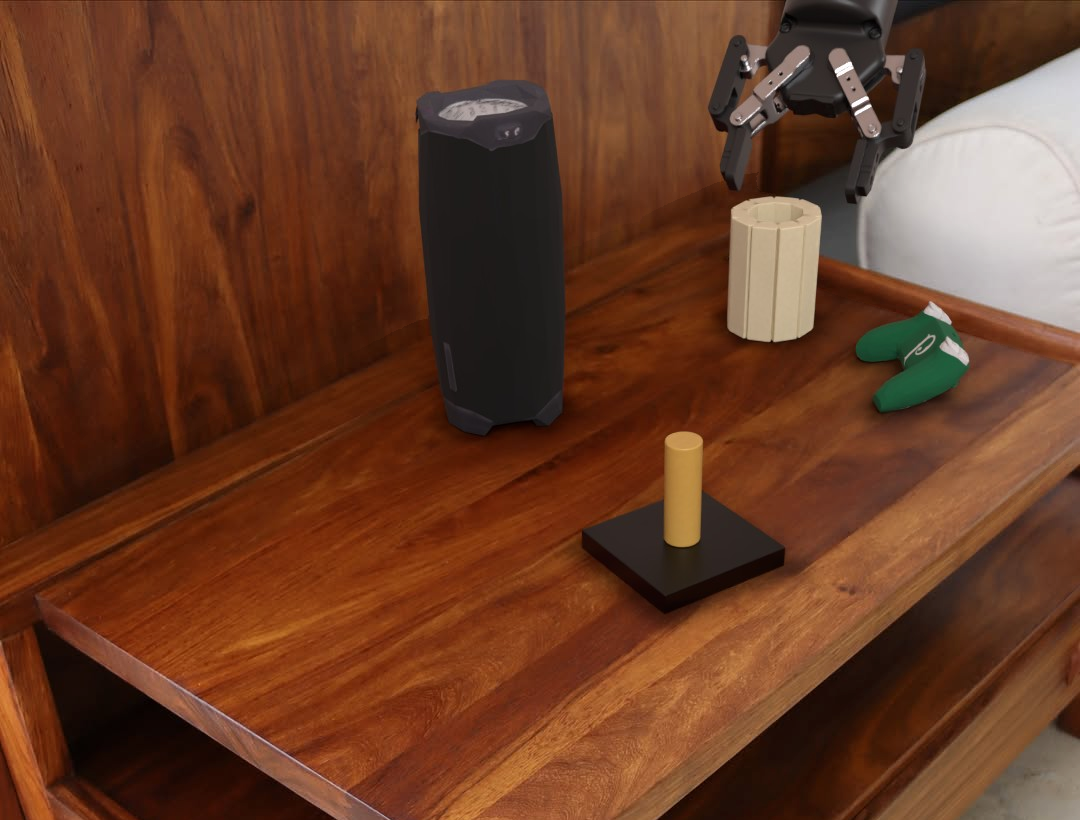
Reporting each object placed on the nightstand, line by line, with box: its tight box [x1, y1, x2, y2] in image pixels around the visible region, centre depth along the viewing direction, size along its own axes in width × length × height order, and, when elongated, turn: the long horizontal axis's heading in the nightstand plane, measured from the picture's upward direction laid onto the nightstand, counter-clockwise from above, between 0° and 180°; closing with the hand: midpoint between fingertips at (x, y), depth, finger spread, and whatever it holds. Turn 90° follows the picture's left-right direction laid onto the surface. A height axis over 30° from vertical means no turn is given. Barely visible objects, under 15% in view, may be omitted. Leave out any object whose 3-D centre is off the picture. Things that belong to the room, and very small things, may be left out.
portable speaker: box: [414, 79, 566, 437], centre depth 89 cm, size 9×9×20 cm
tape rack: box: [581, 431, 786, 615], centre depth 78 cm, size 8×8×7 cm
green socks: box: [855, 300, 970, 413], centre depth 94 cm, size 9×4×6 cm
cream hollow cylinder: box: [726, 196, 823, 343], centre depth 101 cm, size 6×6×8 cm
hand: (790, 192), depth 101 cm, fingers open, 8 cm apart
